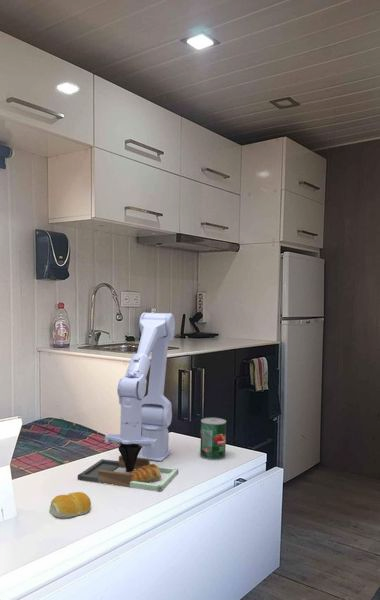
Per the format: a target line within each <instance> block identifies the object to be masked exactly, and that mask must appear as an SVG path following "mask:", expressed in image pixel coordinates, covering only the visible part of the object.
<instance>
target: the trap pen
mask: <svg viewBox="0 0 380 600" xmlns="http://www.w3.org/2000/svg"><path fill="white" fill-rule="evenodd" d="M118 468H120V467H119V460H111V459H103V458H101V459H100V460H98V461H96V462H95V463H94V464H93V465H91V466H90V467H88V468H86V469H85V470H83V471H82V472H80V473H78V474H77V480H78V481H84V482H89V483H90V482H91V483H97V484H98V471H99V470H106V471H114V472H115V471H116V470H117V469H118Z"/></svg>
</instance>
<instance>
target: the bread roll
mask: <svg viewBox="0 0 380 600" xmlns="http://www.w3.org/2000/svg"><path fill="white" fill-rule="evenodd" d="M91 507H92V502H91V499H90V496H88V495H87V494H86V493H85V492H84V491H76V492H71V493H70V492H69V493H67V494H59V495H56V496H55V497H53V499H51V502H50V506H49V512H50V513H51V515H52V516H54V517H56V518H58V519H70V518H75V517H78V516H83V515H85V514H87V513H88V512H90V509H91Z"/></svg>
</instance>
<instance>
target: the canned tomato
mask: <svg viewBox="0 0 380 600" xmlns="http://www.w3.org/2000/svg"><path fill="white" fill-rule="evenodd" d="M226 434H227V420H226V419H224V418H219V417H204V418H201V420H200V449H199V451H200V452H199V456H200V458H201V459H205V460H208V461H209V460H210V461H219V460H223V459H225V458H226V451H227V450H226V442H227V440H226V439H227V435H226Z"/></svg>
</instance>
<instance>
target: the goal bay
mask: <svg viewBox="0 0 380 600" xmlns="http://www.w3.org/2000/svg"><path fill="white" fill-rule="evenodd" d="M157 466H158V468H159V471H160V473H162V474H168V475H167V476H166V477H164V479H163V480H162V481H161V482H160V483H159V484H157V483H152V482H151V483H144V482H137V481H131V482H130V487H129V488H132V487H133V488H135V489H139V488H140V490H147V489H148V491H154V490H155V491H154V492H162V491H163V490H164V489H165V488H166V487H167V486H168V485H169V484H170V483H171V481H172V480H173V479H174V478H175V477H176V476H177V474H179V468H175V467H167V466H160V465H157Z"/></svg>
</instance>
